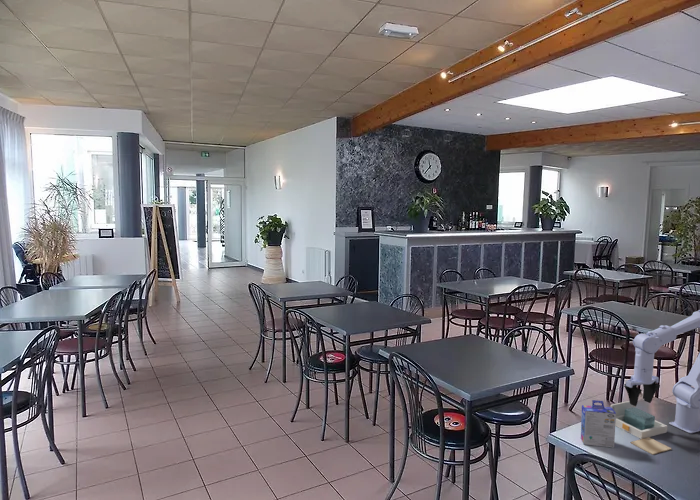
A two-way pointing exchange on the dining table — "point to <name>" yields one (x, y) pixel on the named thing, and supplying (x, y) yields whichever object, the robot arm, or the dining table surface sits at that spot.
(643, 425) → the block
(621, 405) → the case lid
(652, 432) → the case
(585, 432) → the ink cartridge box
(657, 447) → the oak pad
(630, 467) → the dining table surface
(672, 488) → the dining table surface
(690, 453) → the dining table surface
